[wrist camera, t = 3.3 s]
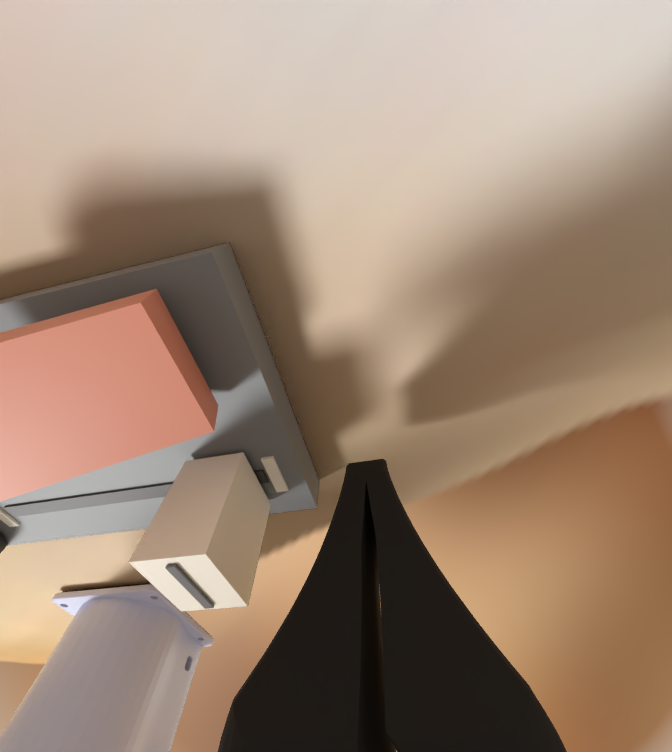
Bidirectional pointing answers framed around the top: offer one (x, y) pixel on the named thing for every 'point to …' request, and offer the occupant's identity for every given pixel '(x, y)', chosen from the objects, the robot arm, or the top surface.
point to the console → (223, 376)
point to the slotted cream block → (206, 535)
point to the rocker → (96, 392)
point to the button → (2, 543)
